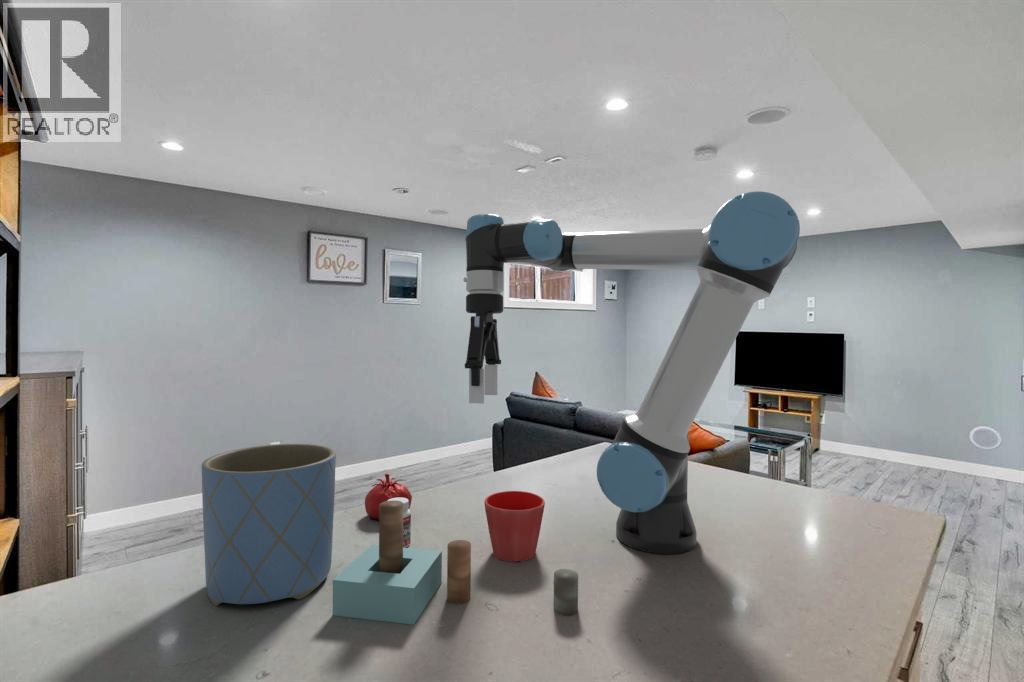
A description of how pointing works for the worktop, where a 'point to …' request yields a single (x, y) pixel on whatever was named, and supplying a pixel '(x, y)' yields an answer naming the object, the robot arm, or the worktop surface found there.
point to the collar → (387, 586)
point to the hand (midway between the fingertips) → (484, 399)
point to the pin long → (391, 537)
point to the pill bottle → (405, 520)
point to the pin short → (566, 592)
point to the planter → (267, 522)
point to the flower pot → (514, 524)
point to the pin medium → (458, 571)
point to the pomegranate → (384, 495)
